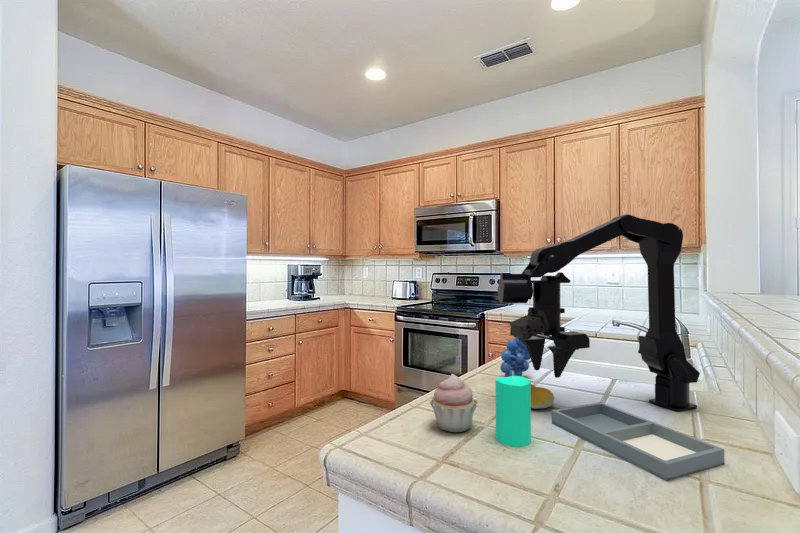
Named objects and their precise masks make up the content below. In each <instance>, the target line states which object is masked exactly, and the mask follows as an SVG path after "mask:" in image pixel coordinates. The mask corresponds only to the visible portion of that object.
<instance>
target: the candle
mask: <svg viewBox="0 0 800 533" xmlns="http://www.w3.org/2000/svg"><path fill="white" fill-rule="evenodd" d="M531 384H532V383H531V379H529V378H527V377H524V376H523V375H522V376H513V371H512V376H509V377H505V376H497V378H496V379H495V438H496V440H497V441H498V442H499V443H501V444H503V445H506V446H510V447H525V446H529V445H530V443H531V442H532V416H531V415H532V414H531V413H532V408H531Z"/></svg>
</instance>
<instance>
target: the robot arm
mask: <svg viewBox="0 0 800 533" xmlns="http://www.w3.org/2000/svg"><path fill="white" fill-rule="evenodd" d="M620 236H622V237H623V238H625V239H626V240H629V241H631V242H633V243H636V244H638V247H639V252H640V255H641V256H642V258H643V260H644V262H645V263H646V265H647V295H648V296H647V299H648V300H647V301H648V330H647V332H646V333H645V335H639V336H637V338H638V350H637V353H638V354H640V356H641V359H642V361H643V362H644V363H645V364H646V365H647V367H648V370H649V372H650V373H653V374H656V376H655V383H654V398H650V399H648V402H649V403H651V404H654V405H657V406H659V407H660V406H661V407H663V408H667V409H669V410H672V411H674V412H675V411H676V412H681V411H687V410H692V409H697V408H698V405H697V404H696V403H695V404H694V403H691V402H690V384H691V383H693V384H694V383H695V384H696V383H697V382H698V380H699V377H700V374H701V373H700V372H699V371H698V370H697V368H695V367H694V366H693V365H692V364H691V363H690V362H689V361H688V360H687V355H686V351H685V350H686V349H685V346H684V344H683V341H682V340H681V338H680V336H679V334H678V332H677V330H676V299H675V298H676V297H675V296H676V295H675V294H676V290H675V263H676V261H677V260H678V258H679V256H680V255H681V252H682V248H683V247H682V246H683V240H684V234H683V229H682V228H681V227H679V226H678V225H677V224H675V223H672V222H665V223H663V222H660V221H656V220H651V219H647V218H646V219H645V218H640V217H637V216H635V215H631V214H622V215H618V216H615V217H613V218H612V219H611V220H609V221H606V222H604V223H602V224H600V225H597V226H596V227H594V228H592V229H589V230H588V231H584V232H583V233H581V234H579V235H577V236H575V237H572V238H570V239H567V240H566V241H565V240H564V241H562V242H558V243H555V244H549V245H547V246H542V247H539V248H536V249H535V250H533V251H532V252H531V255H530V257H529V263H528V264H527V265H526V266H525V268H524V269H523V271H522V272H521V273H510V272H501V273H500V277H499V278H500V279H499V282H498V286H497V299H498V301H499V303H500V304H528V301H529V300H531V299H532V306H531V307H528V309H527V314H526V315H525V316H521V317H518V318H517V319H515V320H513V321H511V322H510V323H509V325H510V329H509V330H510V336H512V337H513V338H514V339H515V338H517V337H518V340H519V341H521V342H522V343H523V344H524V345H525V346H526V347H527V350H528V352H529V355H530V361H531V363H532V366H533V369H534V370H535V371H540V368H541V365H542V360H543V355H544V350H545V345H546V340H549V341H553V343H554V345H551V346H547V347H548V349H549V350H550V352H551V354H552V358H553V359H552V360H553V361H552V362H553V373H554V377H555V379H558V378H561V376H562V374H563V372H564V370H565V368H566V366H567V364H568V362H569V361H570V360H571V357H573V355H574V353H575V352H576V350H580V349H589V348H590V342H591V340H590V337H589V336H588V334H587V333H583V332H578V331H566V328H565V326H561V325H562V324H561V314H565V312H566V309H565V308H563V307H561V284H569V283H570V284H571V279H569V278H568V277H567V276H566V275H565V274H564V273H563V272H562V271H561V272H560V270H562V269H563V268H565V267H566V266H567V265H569V264H570V263H571V262H573V261H574V260H575V258H577V257H578V256H580V255H581V254H582V255H583V254H584V253H586V252H588V251H591V250H593V249H594V248H597V247H599V246H601V245H603V244H606V243H607V242H610V241H612V240H614V239H616V238H618V237H620ZM558 271H559V272H558ZM553 273H556V274H555V275H546V274H553ZM532 278H540V279H539V280H536V279H535V280H532Z"/></svg>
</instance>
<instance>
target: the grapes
mask: <svg viewBox="0 0 800 533" xmlns="http://www.w3.org/2000/svg"><path fill="white" fill-rule="evenodd" d="M505 346H506V349H504V350H503V351H502V352H501V354H500V357H501V360H502V361H503V362H502V363H501V364H500V367H499V368H500V371H501V372H502V373H503V374H504V377H509V376H512V371H513V376H522V377H523V372H524V373H525V372H526V371H528V369H530V363H529V360H531V358H530V355H529V352H528V350H527V347H526V346H525V345H524V344H523V343H522V342H521V341H519V340H518V337H517V338H515V337H514V339H509V340H508V341H507V342H506V345H505Z"/></svg>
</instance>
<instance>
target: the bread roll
mask: <svg viewBox="0 0 800 533" xmlns="http://www.w3.org/2000/svg"><path fill="white" fill-rule="evenodd" d="M554 403H555V396H554V393H553V392H552V391H551V390H550V389H549V388H545V387H541V386H535V384H532V383H531V409H547V408H549V407H552V406H553V405H554Z"/></svg>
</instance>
